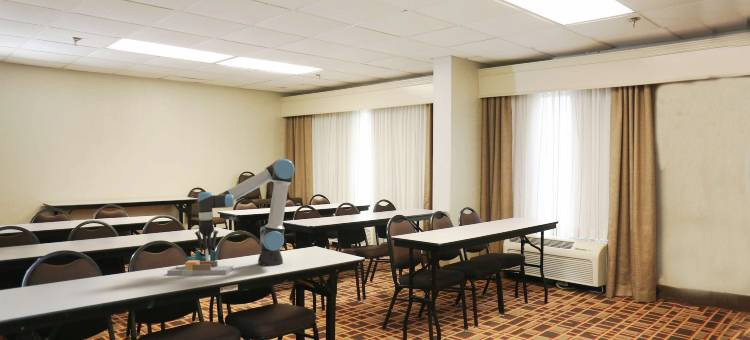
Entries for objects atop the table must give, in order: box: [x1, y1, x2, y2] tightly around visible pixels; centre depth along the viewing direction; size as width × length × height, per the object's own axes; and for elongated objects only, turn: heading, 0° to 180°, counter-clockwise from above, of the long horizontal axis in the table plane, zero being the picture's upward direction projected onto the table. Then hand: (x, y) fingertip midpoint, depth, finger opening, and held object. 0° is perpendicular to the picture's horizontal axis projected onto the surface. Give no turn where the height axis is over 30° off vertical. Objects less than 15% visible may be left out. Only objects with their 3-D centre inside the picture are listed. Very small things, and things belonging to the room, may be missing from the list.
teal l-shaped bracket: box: [186, 249, 216, 262], centre depth 320 cm, size 18×11×10 cm, turn 37°
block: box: [184, 260, 200, 269], centre depth 302 cm, size 6×6×4 cm
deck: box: [166, 260, 234, 276], centre depth 301 cm, size 34×12×6 cm, turn 87°
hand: (208, 260), depth 301 cm, fingers closed
